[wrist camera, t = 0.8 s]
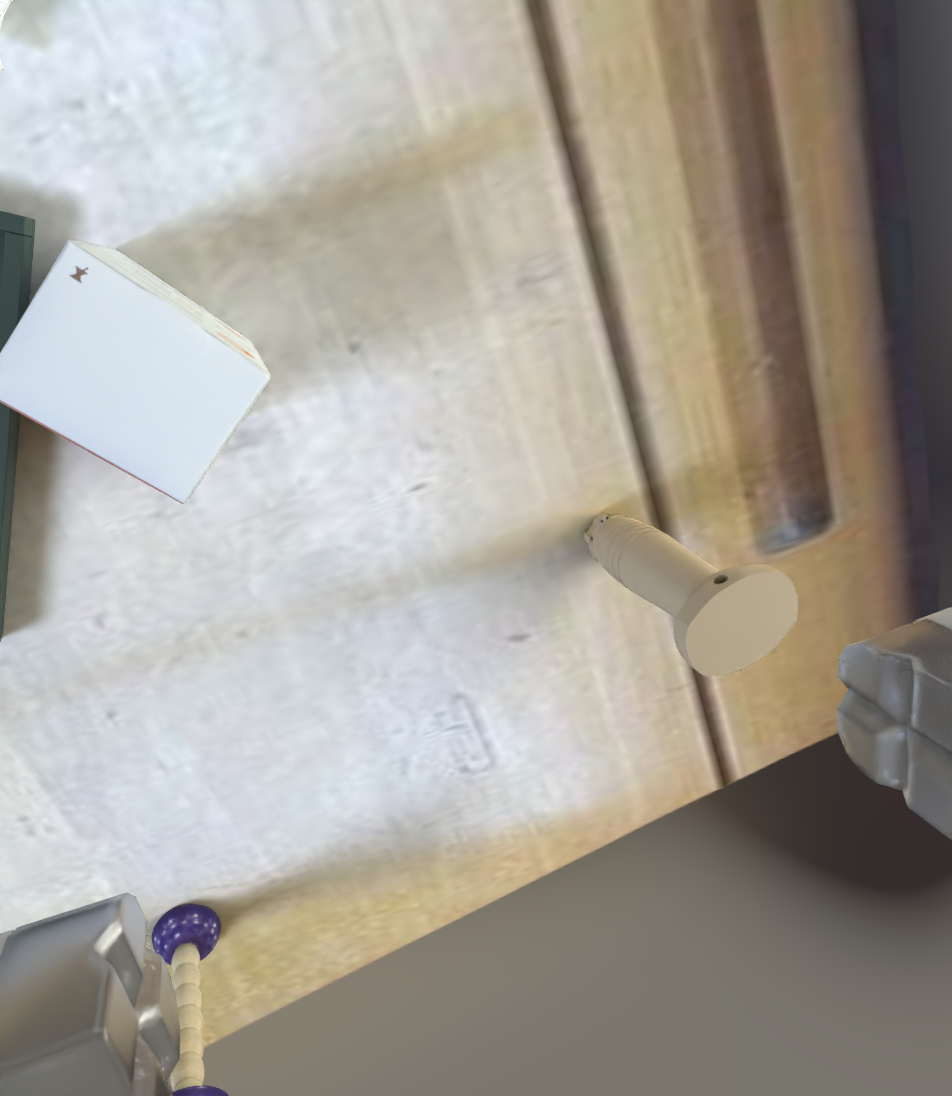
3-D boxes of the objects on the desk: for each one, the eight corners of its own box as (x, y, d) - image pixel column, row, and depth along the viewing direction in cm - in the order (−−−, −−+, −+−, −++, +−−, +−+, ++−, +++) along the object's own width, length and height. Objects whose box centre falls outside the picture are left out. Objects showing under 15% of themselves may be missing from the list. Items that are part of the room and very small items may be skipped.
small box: (42, 353, 39) (-31, 387, 27) (111, 244, 38) (67, 231, 26) (192, 443, 42) (185, 508, 30) (257, 344, 41) (276, 372, 30)
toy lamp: (233, 902, 52) (243, 1156, 37) (223, 958, 53) (229, 1227, 38) (156, 904, 50) (134, 1172, 35) (147, 962, 51) (122, 1246, 36)
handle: (549, 526, 50) (674, 619, 37) (633, 479, 51) (785, 552, 38) (575, 586, 52) (702, 694, 39) (655, 539, 53) (807, 629, 40)
